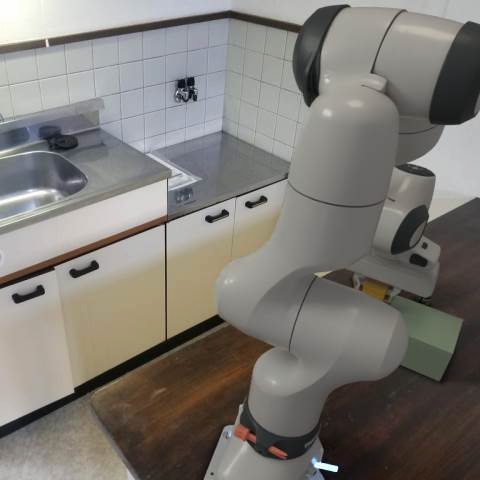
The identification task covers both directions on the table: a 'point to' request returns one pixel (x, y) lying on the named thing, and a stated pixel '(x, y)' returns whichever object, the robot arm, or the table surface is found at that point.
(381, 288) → the block
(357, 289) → the drawer
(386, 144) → the robot arm
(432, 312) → the cabinet
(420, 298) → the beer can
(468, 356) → the table surface
